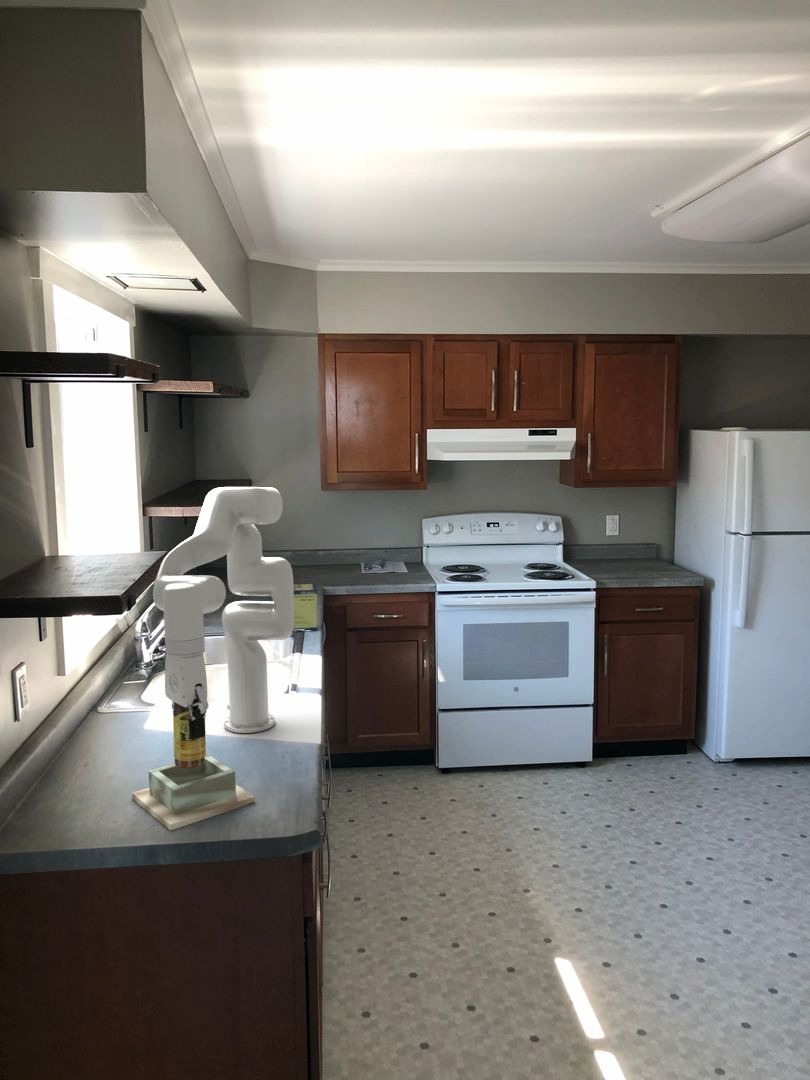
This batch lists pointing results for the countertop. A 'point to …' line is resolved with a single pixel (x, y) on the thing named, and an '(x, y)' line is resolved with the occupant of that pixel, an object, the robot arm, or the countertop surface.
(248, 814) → the countertop surface
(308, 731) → the countertop surface
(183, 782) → the tray
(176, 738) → the sauce bottle
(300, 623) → the protein box
